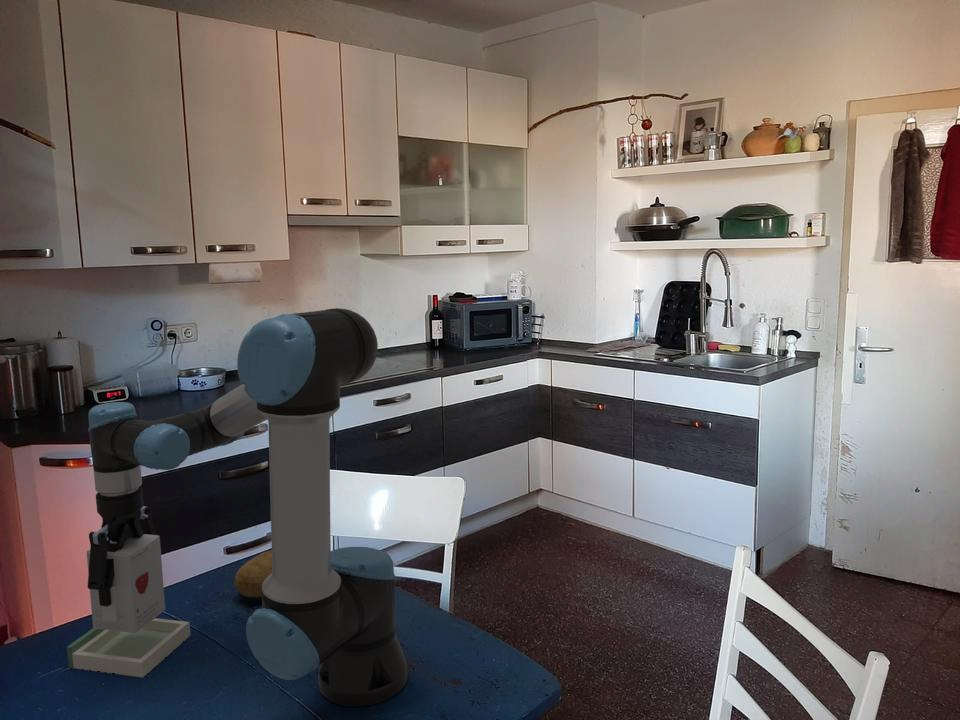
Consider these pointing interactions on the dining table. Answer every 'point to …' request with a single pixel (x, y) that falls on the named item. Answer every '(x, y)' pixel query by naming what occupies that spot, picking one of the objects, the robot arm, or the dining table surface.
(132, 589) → the supplement box
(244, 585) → the potato
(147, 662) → the shallow square tray
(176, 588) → the dining table surface
